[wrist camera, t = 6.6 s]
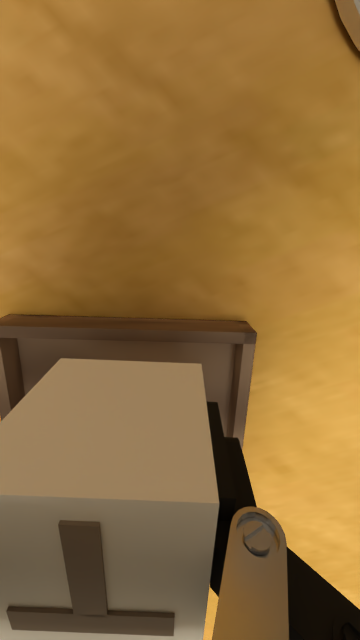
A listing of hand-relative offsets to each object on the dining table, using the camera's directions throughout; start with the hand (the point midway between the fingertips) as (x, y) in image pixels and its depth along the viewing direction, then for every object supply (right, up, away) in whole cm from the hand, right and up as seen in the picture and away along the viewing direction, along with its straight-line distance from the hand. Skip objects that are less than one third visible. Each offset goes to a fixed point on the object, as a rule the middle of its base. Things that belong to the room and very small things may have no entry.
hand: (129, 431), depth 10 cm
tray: (-1, 0, +5) cm, 6 cm away
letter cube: (0, 0, +1) cm, 1 cm away
